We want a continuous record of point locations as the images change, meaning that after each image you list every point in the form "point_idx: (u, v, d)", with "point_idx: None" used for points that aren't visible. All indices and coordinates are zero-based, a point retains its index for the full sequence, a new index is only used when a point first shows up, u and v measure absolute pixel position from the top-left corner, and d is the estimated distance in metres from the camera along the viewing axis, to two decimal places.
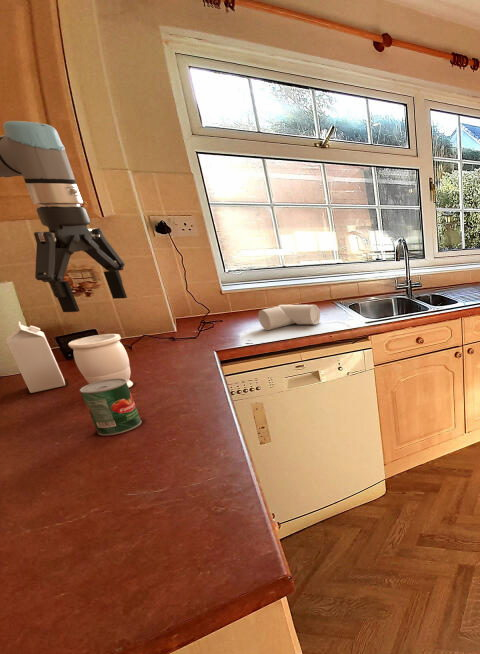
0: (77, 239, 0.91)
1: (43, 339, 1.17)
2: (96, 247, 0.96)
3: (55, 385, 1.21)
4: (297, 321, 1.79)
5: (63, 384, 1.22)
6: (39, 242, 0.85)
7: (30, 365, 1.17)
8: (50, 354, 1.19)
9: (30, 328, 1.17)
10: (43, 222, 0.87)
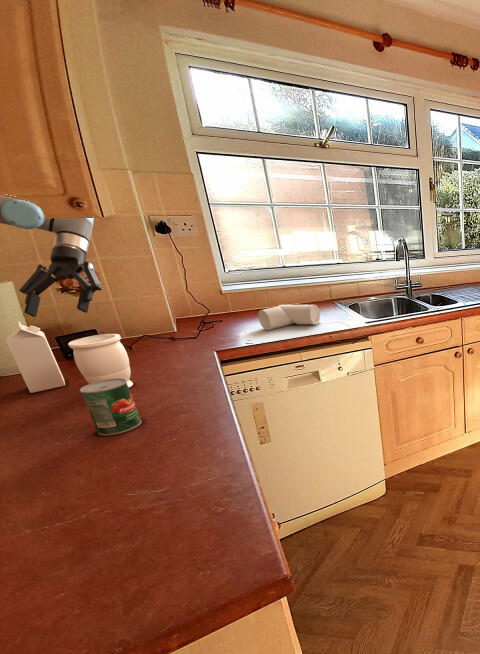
0: None
1: (43, 339, 1.17)
2: None
3: (55, 385, 1.21)
4: (297, 321, 1.79)
5: (63, 384, 1.22)
6: (89, 268, 1.30)
7: (30, 365, 1.17)
8: (50, 354, 1.19)
9: (30, 328, 1.17)
10: (76, 256, 1.30)
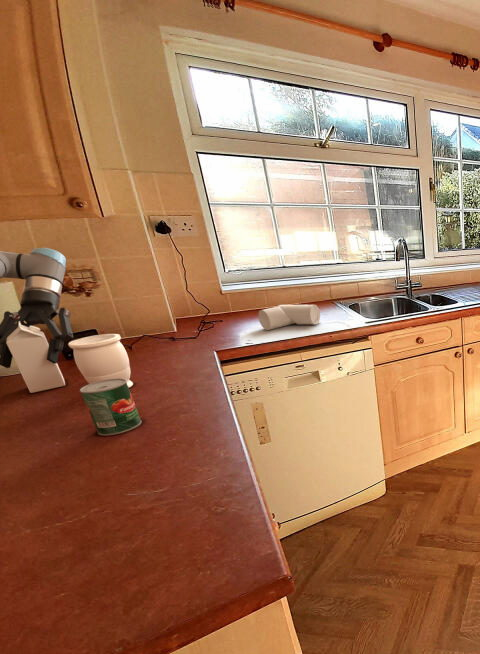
0: None
1: (43, 339, 1.17)
2: None
3: (55, 385, 1.21)
4: (297, 321, 1.79)
5: (63, 384, 1.22)
6: (64, 314, 1.24)
7: (30, 365, 1.17)
8: None
9: (30, 328, 1.17)
10: (50, 300, 1.23)
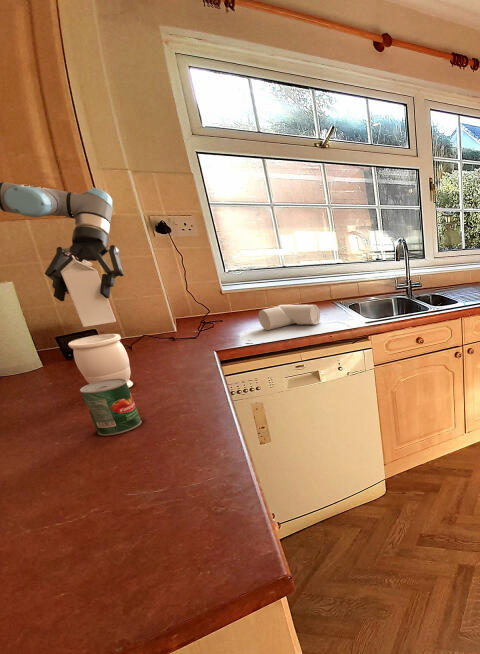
0: None
1: (96, 273, 1.18)
2: None
3: (106, 321, 1.22)
4: (297, 321, 1.79)
5: (114, 320, 1.23)
6: (115, 252, 1.25)
7: (83, 298, 1.18)
8: None
9: (83, 262, 1.18)
10: (101, 238, 1.24)
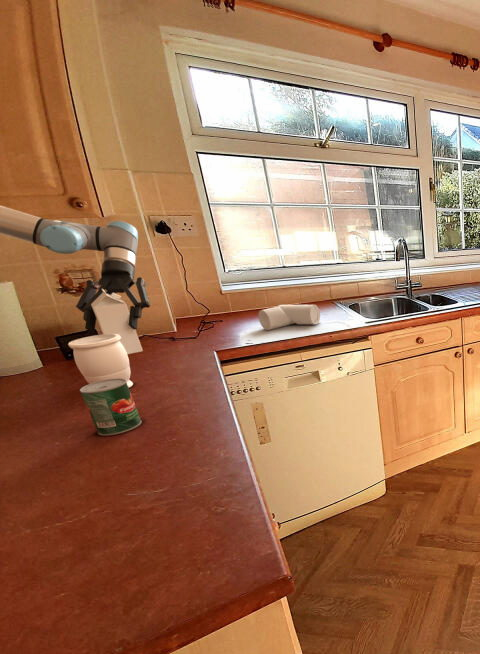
0: None
1: (125, 305, 1.24)
2: None
3: (134, 350, 1.27)
4: (297, 321, 1.79)
5: (141, 350, 1.29)
6: (141, 284, 1.30)
7: (113, 330, 1.23)
8: None
9: (113, 295, 1.23)
10: (128, 270, 1.30)
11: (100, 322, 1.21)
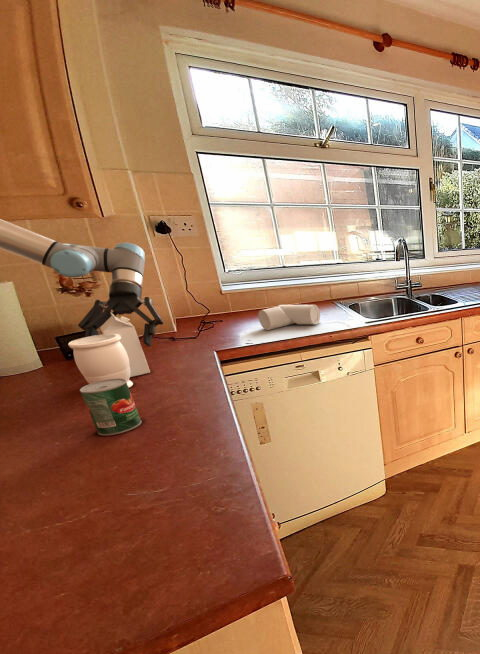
0: None
1: (133, 329, 1.26)
2: None
3: (141, 372, 1.30)
4: (297, 321, 1.79)
5: (148, 371, 1.31)
6: (150, 303, 1.33)
7: None
8: (139, 343, 1.28)
9: (121, 318, 1.26)
10: (135, 292, 1.32)
11: None
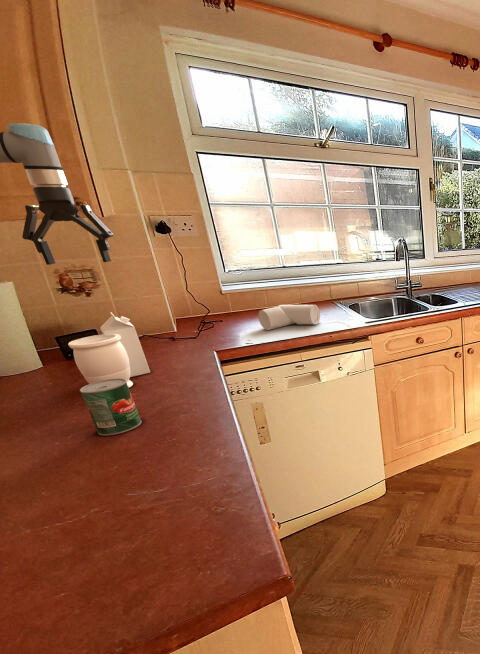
0: None
1: (133, 329, 1.26)
2: None
3: (141, 372, 1.30)
4: (297, 321, 1.79)
5: (148, 371, 1.31)
6: (89, 212, 1.24)
7: None
8: (139, 343, 1.28)
9: (121, 318, 1.26)
10: (66, 198, 1.21)
11: None
